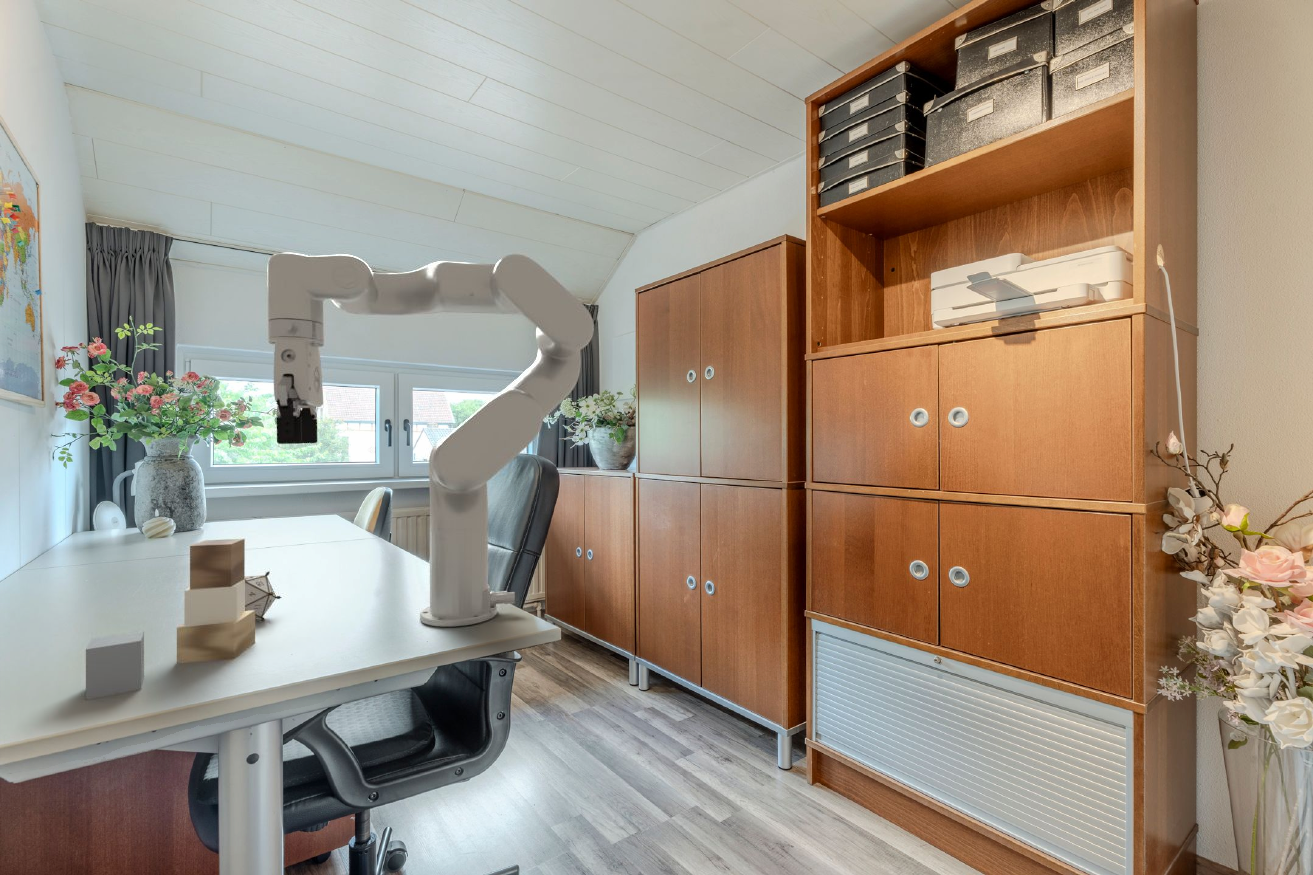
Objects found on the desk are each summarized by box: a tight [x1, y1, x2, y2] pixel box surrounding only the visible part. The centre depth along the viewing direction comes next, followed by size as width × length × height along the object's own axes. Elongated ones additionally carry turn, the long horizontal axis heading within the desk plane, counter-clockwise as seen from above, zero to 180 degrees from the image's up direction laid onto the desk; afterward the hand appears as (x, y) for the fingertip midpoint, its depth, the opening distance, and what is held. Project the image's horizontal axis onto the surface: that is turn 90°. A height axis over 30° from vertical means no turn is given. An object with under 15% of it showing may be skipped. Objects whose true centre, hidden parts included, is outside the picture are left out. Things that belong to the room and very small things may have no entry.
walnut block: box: [189, 538, 246, 589], centre depth 88 cm, size 5×5×6 cm
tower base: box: [176, 610, 256, 664], centre depth 88 cm, size 7×7×5 cm
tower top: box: [183, 579, 245, 627], centre depth 88 cm, size 6×6×5 cm
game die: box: [245, 570, 282, 623], centre depth 103 cm, size 9×8×10 cm
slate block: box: [85, 630, 145, 701], centre depth 75 cm, size 5×5×6 cm
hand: (298, 443), depth 96 cm, fingers open, 9 cm apart
